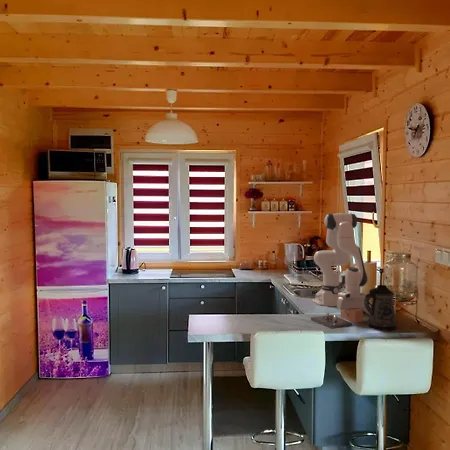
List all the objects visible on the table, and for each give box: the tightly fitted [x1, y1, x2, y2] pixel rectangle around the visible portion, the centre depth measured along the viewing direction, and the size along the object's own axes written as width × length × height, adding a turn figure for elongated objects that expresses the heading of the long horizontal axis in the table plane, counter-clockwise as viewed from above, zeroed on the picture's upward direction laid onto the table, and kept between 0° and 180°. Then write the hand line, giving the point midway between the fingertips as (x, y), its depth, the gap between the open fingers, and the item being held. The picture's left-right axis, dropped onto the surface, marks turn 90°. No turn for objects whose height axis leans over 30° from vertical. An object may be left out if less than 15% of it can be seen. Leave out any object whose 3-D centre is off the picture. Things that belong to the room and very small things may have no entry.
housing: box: [340, 308, 364, 323], centre depth 294 cm, size 14×6×7 cm, turn 23°
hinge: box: [361, 300, 372, 316], centre depth 310 cm, size 17×5×10 cm, turn 6°
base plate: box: [310, 312, 353, 328], centre depth 286 cm, size 20×16×5 cm
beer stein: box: [364, 284, 398, 332], centre depth 275 cm, size 16×19×25 cm
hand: (351, 315), depth 294 cm, fingers closed on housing, 6 cm apart
